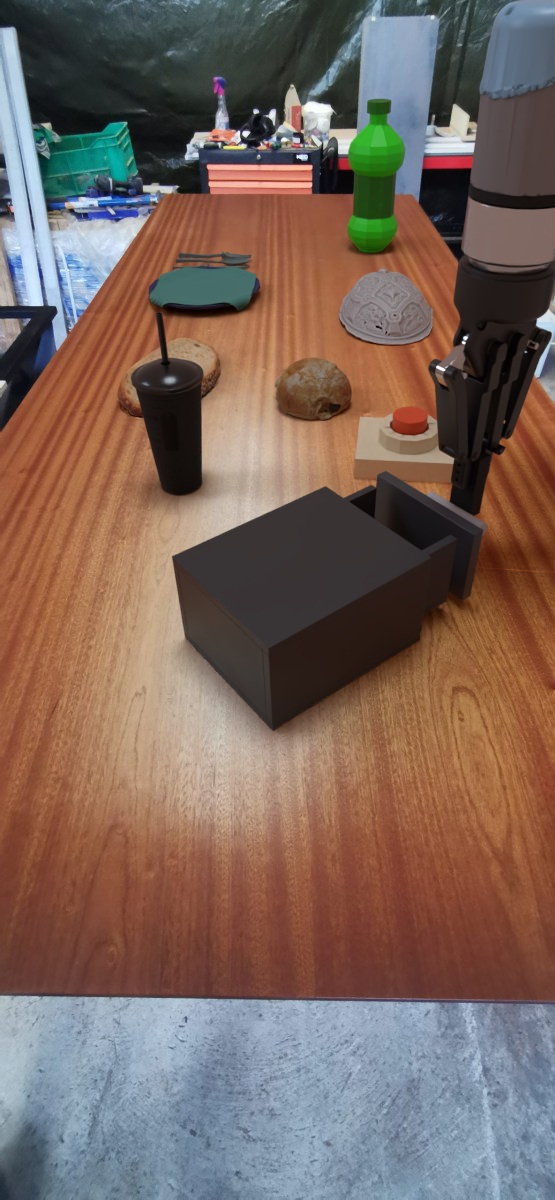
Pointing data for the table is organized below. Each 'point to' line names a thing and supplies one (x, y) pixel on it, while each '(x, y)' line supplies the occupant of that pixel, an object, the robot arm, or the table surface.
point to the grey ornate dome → (386, 309)
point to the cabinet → (301, 601)
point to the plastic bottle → (375, 179)
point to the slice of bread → (176, 349)
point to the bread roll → (313, 389)
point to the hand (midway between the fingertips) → (464, 509)
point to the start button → (409, 421)
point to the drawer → (428, 533)
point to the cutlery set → (206, 283)
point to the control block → (400, 452)
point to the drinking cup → (172, 417)
